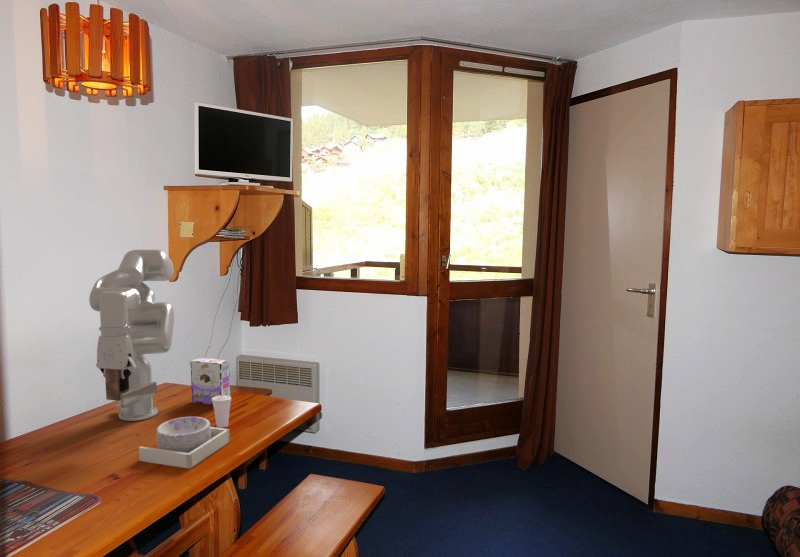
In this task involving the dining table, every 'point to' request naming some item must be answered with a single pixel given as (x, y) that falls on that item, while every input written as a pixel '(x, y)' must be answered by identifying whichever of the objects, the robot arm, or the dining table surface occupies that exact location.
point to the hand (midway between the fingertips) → (117, 389)
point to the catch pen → (186, 459)
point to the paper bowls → (183, 434)
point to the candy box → (209, 379)
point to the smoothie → (221, 409)
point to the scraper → (126, 396)
